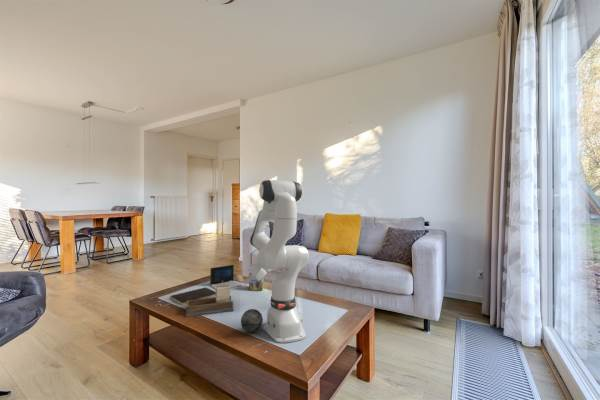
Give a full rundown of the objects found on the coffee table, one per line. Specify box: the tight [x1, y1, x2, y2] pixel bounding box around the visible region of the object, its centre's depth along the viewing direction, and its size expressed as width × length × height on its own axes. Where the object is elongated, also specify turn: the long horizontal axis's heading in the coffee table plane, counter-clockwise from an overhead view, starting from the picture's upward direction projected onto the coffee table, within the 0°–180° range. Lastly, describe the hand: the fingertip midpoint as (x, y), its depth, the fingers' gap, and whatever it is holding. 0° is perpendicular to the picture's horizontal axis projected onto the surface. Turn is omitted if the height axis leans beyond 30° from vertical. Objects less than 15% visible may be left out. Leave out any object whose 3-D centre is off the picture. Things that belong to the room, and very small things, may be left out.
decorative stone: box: [240, 308, 264, 333], centre depth 126 cm, size 10×10×10 cm
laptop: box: [209, 264, 242, 290], centre depth 192 cm, size 18×12×13 cm
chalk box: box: [248, 272, 265, 291], centre depth 187 cm, size 9×9×15 cm
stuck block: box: [215, 285, 231, 303], centre depth 154 cm, size 7×7×10 cm
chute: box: [185, 295, 234, 318], centre depth 151 cm, size 16×24×4 cm, turn 111°
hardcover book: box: [169, 287, 216, 306], centre depth 169 cm, size 16×23×2 cm
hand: (247, 281), depth 159 cm, fingers closed
